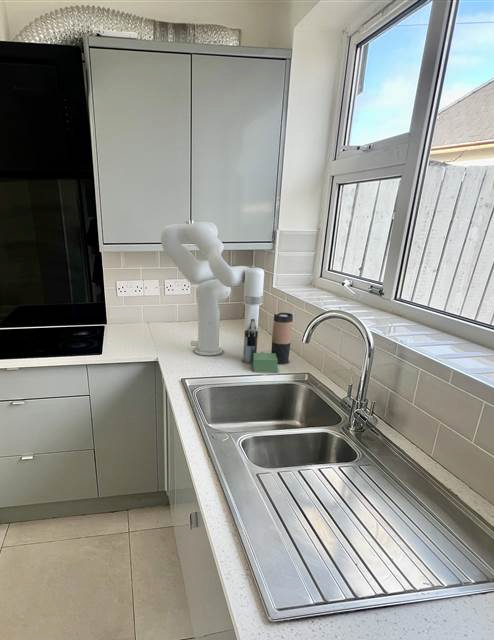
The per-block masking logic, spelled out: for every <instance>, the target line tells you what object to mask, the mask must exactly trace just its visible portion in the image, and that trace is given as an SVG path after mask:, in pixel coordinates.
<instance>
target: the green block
mask: <svg viewBox="0 0 494 640" xmlns="http://www.w3.org/2000/svg"><path fill="white" fill-rule="evenodd" d="M278 365H279V364H278V359H277V357H276V354H275V353H271V352H257V353H253V363H252V369H253V372H254V373H278Z"/></svg>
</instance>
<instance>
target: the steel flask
mask: <svg viewBox="0 0 494 640" xmlns="http://www.w3.org/2000/svg"><path fill="white" fill-rule="evenodd" d="M250 331H251V330H250ZM243 336H244V339H243V355H242V356H243V358H242V359H243V360H242V361H243V363H245V364H253V353H258V352H257V351H258V338H259V337H258V336H259V331H258V330H257V329H256V330H255V336H256V338H255V346H247V338H248V330H247V329H245V330H244V335H243Z"/></svg>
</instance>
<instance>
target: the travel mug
mask: <svg viewBox="0 0 494 640" xmlns="http://www.w3.org/2000/svg"><path fill="white" fill-rule="evenodd" d="M293 320H294V315H293V314H292V313H290V312H278V313H274V314H273V324H272V335H271V349H270V350H271V352H270V353H275V354H276V357H277V359H278V365H284V364H288V363H289V357H290V351H291V344H292V343H291V342H292V332H293V331H292V330H293Z"/></svg>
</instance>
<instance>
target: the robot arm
mask: <svg viewBox="0 0 494 640" xmlns="http://www.w3.org/2000/svg"><path fill="white" fill-rule="evenodd" d="M161 230H162V231H161V234H160V242H161V243H160V244H161V247H162V249H163V251H164V253H165V255H166V256H167V257H168V258H169V260H171V261H172V263H173V264H174V265H175V266H176V267H177V269H178V270H179V272H180V273H181V274H182V276H184V278H185V280H186V281H187V282H188V283H189V284H192V285H198V286H197V287H196V289H195V297H196V303H197V315H198V316H197V340H190V342H189V343H190V346H192V347H195V348H194V353H195V354H197V355H201V356H217V355H220V354H222V353H223V347H221V346H220V327H221V326H220V320H221V319H220V318H221V311H220V307H219V304H218V302H221V301H224V300H226V299H228V298H229V297H230V295H231V293H232V288H234V287H238V286H243V304H244V305H245V310H244V329H245V330H248V338H247V346H255V338H256V336H255V330H256V331H257V330H258V327H259V326H258V325H259V318H260V317H259V316H260V315H259V314H260V306H262V305H263V302H264V301H263V299H264V283H265V270H264V269H263V268H261V267H250V266H246V265H237V266H230V265H229V264H228V263H227V262H226V261H225V259H224V258H223V256H222V253H223V251H224V249H225V246H224V243H223V242H222V241H221V240H220V239H219V238H218V236H219V230H218V227H217V226H216V224H215V223H214V222H212V221H208V220H207V221H206V220H205V221H204V220H203V221H202V220H201V221H199V220H198V221H194V222H192V223H191V222H190V223H171V224H168V225H166V226H164V227H163V229H161ZM189 244H190V245H191V244H194V246H195V247H196V248H197V249H198V250H199V251H200V252H201V253H202V254H203V256H205V257H206V259H205V260H204V259H203V260H198V259H197V258H196V257H195V256H194V255H193V253H192V252H191V251H190V250H189V249H188V248H186V247H185V246H184V245H189ZM250 330H251V331H250Z"/></svg>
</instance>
